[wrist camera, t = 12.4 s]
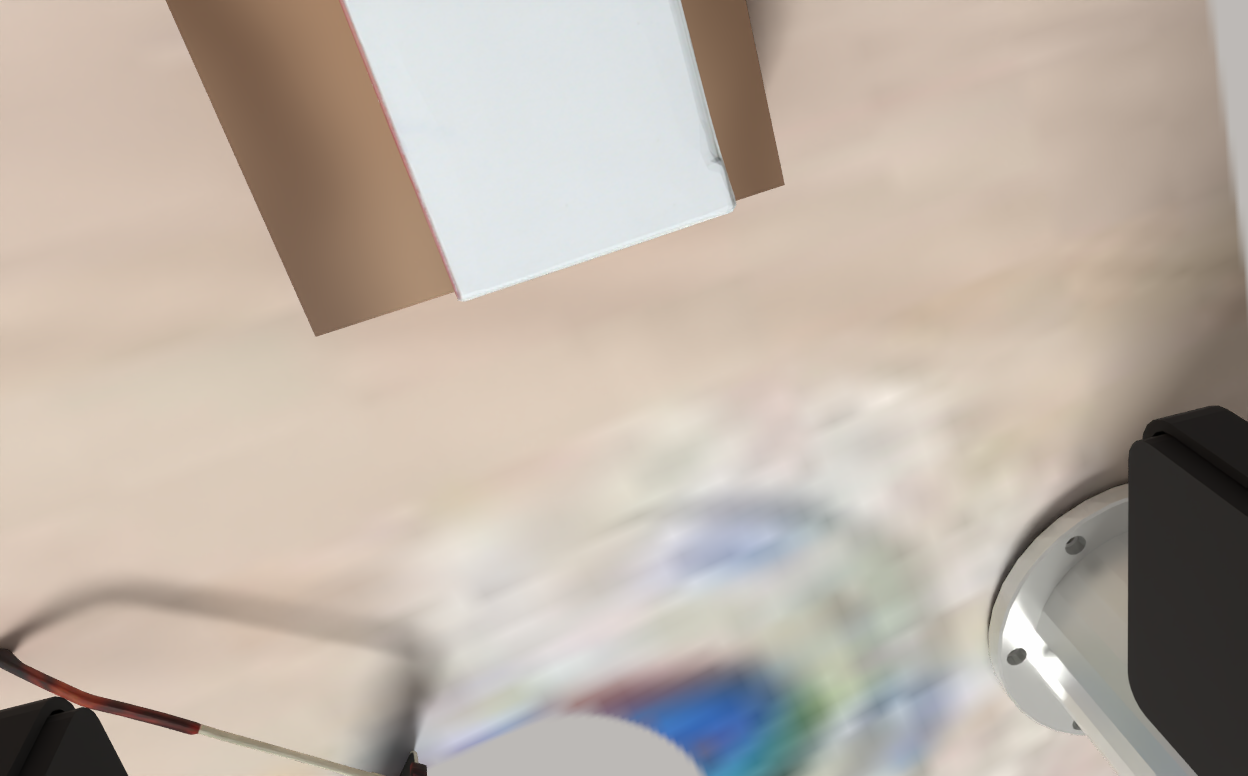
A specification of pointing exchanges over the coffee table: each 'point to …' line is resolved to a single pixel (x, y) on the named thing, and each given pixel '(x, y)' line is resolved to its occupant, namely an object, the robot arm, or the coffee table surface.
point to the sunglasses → (180, 720)
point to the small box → (543, 127)
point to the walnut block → (392, 143)
